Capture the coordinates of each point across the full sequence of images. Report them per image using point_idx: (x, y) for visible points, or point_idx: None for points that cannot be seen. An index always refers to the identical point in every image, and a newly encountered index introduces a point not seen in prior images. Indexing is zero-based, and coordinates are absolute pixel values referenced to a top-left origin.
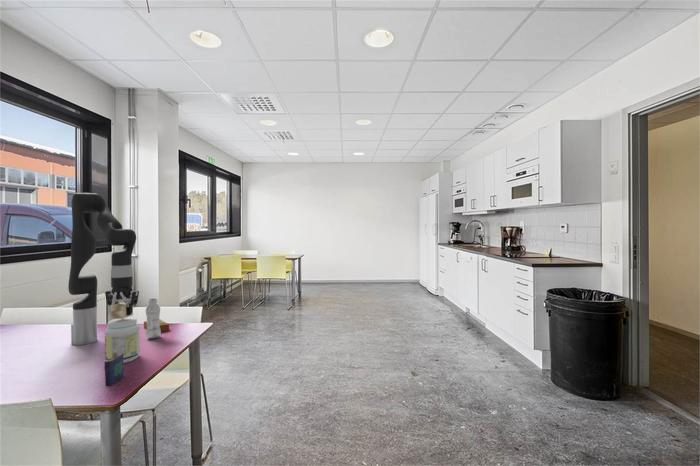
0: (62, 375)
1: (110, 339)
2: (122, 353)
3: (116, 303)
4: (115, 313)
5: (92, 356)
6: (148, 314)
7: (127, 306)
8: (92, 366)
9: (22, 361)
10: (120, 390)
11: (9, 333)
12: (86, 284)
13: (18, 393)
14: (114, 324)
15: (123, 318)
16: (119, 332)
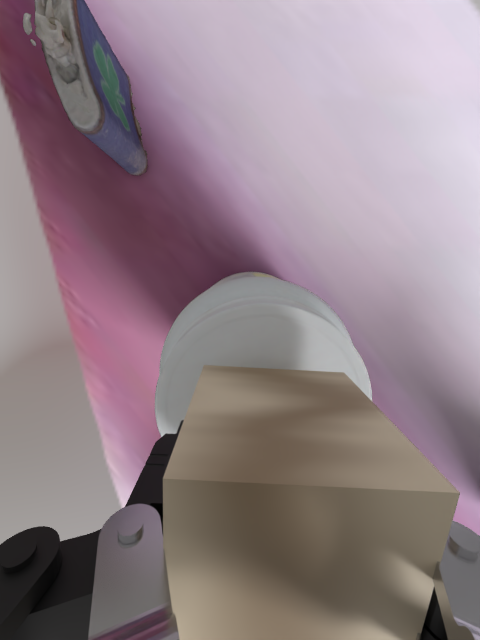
0: (373, 173)
1: (265, 276)
2: (67, 112)
3: (439, 628)
4: (303, 396)
5: (391, 353)
6: None
7: (144, 512)
8: (319, 259)
9: None
10: (37, 36)
11: None
12: None
13: (418, 2)
14: (253, 302)
15: (203, 369)
16: (211, 291)
